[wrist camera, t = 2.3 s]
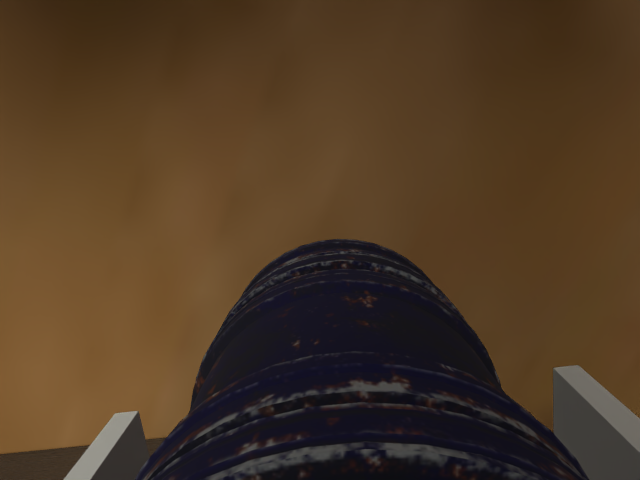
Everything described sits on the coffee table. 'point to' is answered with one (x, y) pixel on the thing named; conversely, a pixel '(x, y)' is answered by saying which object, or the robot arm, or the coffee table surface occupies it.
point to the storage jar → (352, 384)
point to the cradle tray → (49, 462)
